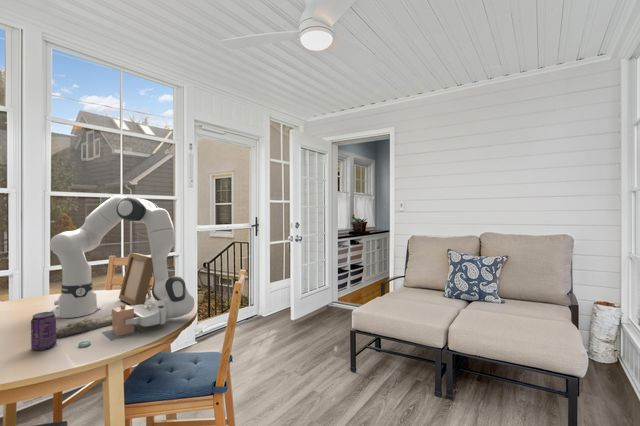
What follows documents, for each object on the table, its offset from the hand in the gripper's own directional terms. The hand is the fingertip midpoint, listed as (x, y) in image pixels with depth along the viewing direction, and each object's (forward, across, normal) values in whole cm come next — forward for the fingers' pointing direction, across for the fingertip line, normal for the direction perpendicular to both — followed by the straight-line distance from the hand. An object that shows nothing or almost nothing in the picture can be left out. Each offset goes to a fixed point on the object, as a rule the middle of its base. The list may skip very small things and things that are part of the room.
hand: (120, 319), depth 137 cm
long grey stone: (+4, -16, +7) cm, 18 cm away
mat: (-1, 0, +6) cm, 6 cm away
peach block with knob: (-1, 0, +5) cm, 5 cm away
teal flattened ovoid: (+13, +4, +6) cm, 15 cm away
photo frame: (-23, -41, +6) cm, 48 cm away
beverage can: (+23, -6, +6) cm, 25 cm away
